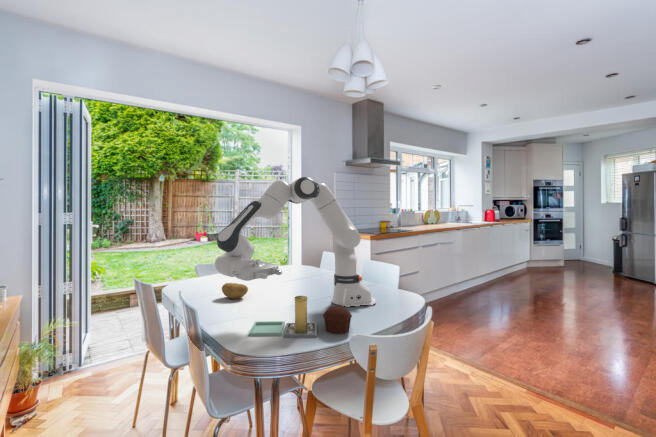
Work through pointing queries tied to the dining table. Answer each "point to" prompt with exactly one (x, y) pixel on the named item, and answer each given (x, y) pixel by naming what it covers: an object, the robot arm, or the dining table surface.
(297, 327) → the tan capped cylinder
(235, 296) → the potato
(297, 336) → the gravel tray
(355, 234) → the robot arm
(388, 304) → the dining table surface
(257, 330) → the green tray
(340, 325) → the muffin
